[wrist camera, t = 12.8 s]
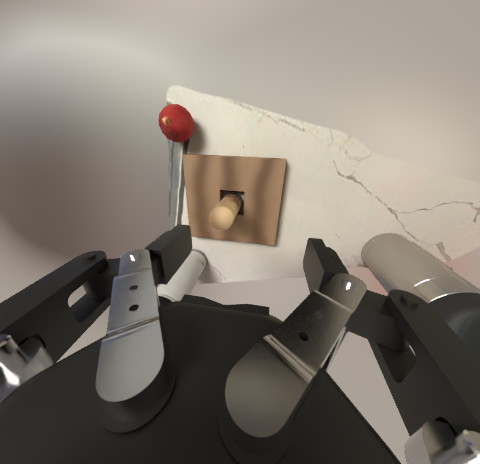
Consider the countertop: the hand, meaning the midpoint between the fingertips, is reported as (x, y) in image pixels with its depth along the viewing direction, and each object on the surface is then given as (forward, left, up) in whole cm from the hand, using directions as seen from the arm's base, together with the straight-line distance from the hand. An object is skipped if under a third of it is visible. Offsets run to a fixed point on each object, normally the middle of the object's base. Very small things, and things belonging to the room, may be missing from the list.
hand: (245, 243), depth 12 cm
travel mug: (+16, +22, -28) cm, 39 cm away
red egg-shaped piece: (+16, -9, -28) cm, 34 cm away
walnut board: (+6, +5, -28) cm, 29 cm away
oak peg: (+6, +5, -28) cm, 29 cm away
